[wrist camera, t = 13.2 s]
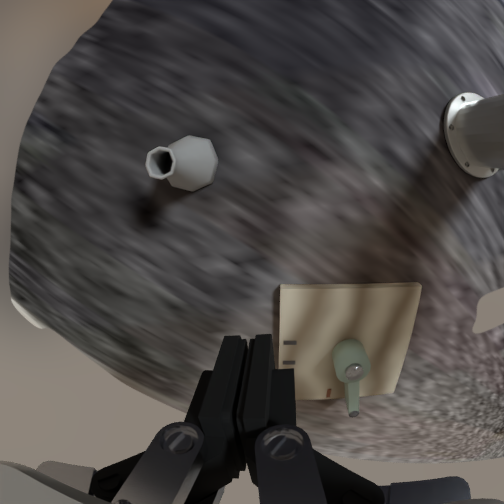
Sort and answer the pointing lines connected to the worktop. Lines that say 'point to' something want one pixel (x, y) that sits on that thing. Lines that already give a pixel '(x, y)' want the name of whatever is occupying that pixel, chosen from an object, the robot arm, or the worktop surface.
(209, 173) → the flask
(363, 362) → the lock lever
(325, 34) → the worktop surface
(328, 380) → the lock base
